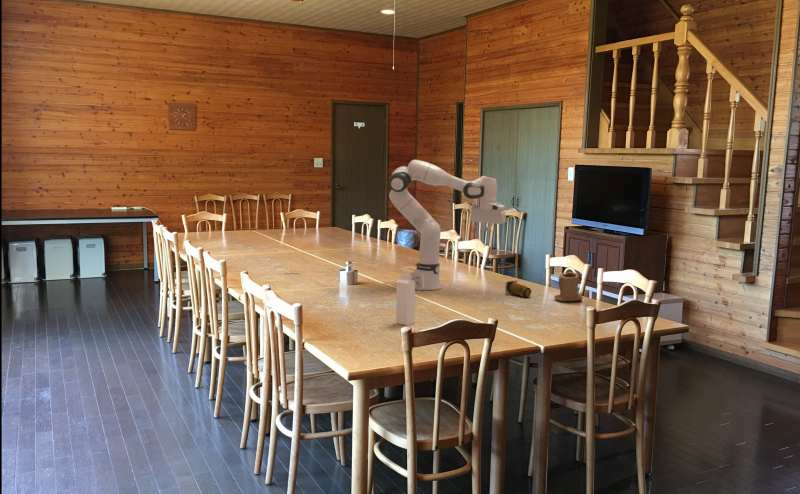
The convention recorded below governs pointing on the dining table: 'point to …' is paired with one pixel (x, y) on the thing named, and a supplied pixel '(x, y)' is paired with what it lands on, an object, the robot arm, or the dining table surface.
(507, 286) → the condiment
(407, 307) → the milk
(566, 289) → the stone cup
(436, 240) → the robot arm
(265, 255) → the dining table surface
